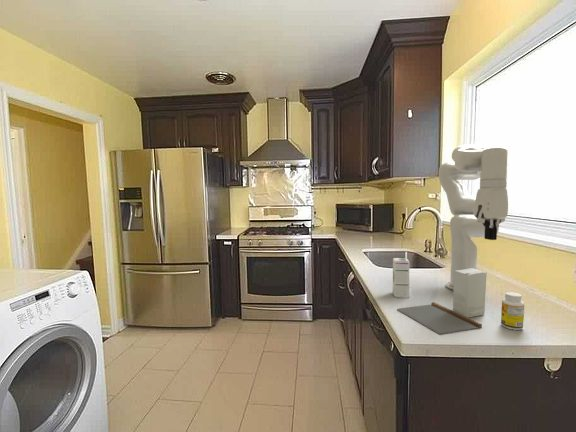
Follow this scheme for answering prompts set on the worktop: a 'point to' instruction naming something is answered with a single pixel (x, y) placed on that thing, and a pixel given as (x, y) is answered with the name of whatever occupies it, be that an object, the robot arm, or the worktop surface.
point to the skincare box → (469, 292)
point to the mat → (436, 319)
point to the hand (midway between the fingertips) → (490, 239)
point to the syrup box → (401, 277)
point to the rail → (457, 315)
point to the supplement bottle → (512, 311)
